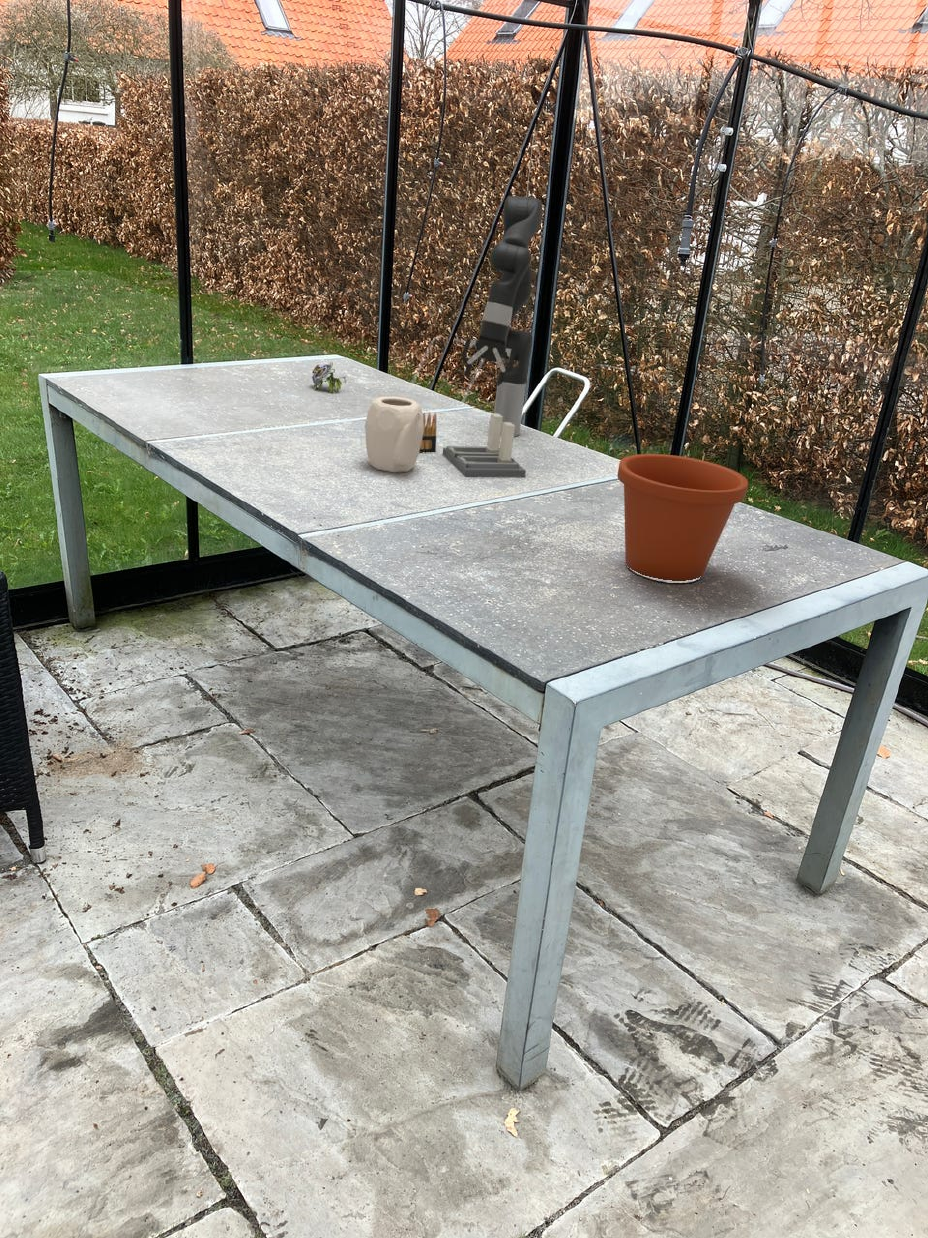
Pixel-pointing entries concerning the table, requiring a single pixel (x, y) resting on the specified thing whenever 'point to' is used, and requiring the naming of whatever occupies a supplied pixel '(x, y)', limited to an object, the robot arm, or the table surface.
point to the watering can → (394, 433)
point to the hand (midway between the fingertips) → (482, 381)
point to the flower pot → (675, 512)
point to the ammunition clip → (429, 435)
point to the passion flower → (326, 377)
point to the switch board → (481, 462)
